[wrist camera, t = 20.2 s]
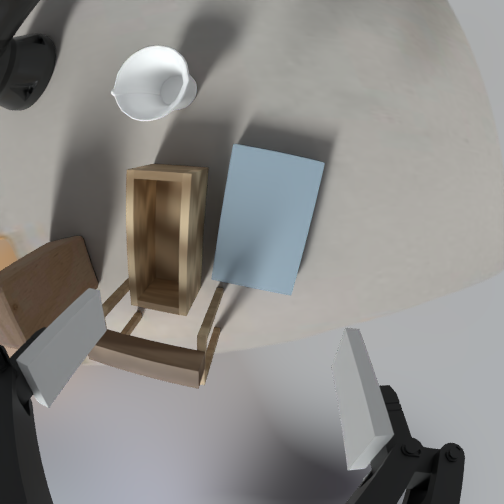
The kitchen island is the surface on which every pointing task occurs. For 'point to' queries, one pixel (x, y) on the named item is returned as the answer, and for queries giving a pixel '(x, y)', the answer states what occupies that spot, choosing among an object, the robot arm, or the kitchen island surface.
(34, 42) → the robot arm
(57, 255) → the wooden block
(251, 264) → the lid
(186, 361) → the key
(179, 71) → the cup
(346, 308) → the kitchen island surface
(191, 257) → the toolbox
